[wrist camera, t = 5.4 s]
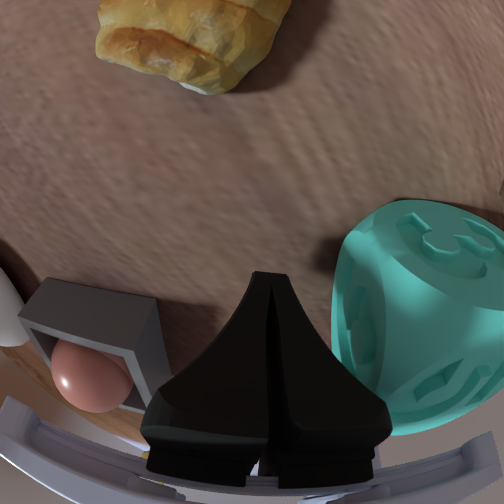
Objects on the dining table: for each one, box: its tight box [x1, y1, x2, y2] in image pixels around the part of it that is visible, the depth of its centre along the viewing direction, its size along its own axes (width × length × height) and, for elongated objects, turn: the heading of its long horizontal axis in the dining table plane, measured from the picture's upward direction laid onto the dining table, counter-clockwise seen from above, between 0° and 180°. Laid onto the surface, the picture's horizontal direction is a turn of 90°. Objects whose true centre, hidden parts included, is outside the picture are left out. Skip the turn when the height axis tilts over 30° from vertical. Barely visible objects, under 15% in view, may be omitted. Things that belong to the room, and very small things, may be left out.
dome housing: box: [17, 278, 172, 414], centre depth 17 cm, size 9×9×4 cm
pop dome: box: [51, 338, 134, 413], centre depth 16 cm, size 6×6×6 cm
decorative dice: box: [331, 200, 504, 435], centre depth 11 cm, size 8×8×8 cm
